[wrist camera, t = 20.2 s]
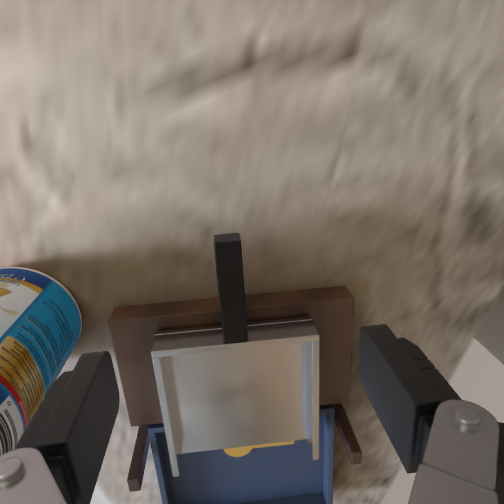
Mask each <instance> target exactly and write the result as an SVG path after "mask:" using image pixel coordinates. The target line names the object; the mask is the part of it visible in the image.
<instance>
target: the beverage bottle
mask: <svg viewBox="0 0 504 504" xmlns="http://www.w3.org/2000/svg"><path fill="white" fill-rule="evenodd" d="M81 329H82V318H81V313H80V309H79V307H78V304H77V302H76V301H75V299H74V297H73V296H72V294H71V293H70V292H69V291H68V290H67V289H66V288H65V287H64V286H63V285H62V284H61V283H60V282H58V281H57V280H55V279H54V278H52V277H50V276H49V275H47V274H44V273H42V272H39V271H36V270H33V269H29V268H22V267H5V268H0V456H1V455H3V454H5V453H7V452H9V451H12V450H14V448H15V447H16V445H17V443H18V441H19V440H20V438H21V436H22V434H23V433H24V431H25V429H26V427H27V426H28V424H29V422H30V420H31V419H32V417H33V415H34V413H35V412H36V411H37V410H38V406H39V405H40V403H41V401H42V400H44V396H45V394H46V392H47V391H48V389H49V387H50V385H51V384H52V383H53V382H54V381H55V380H56V378H57V377H58V375H59V373H60V371H61V369H62V368H63V366H64V364H65V362H66V361H67V359H68V357H69V355H70V354H71V353H72V351H73V349H74V348H75V346H76V344H77V342H78V340H79V337H80V334H81Z"/></svg>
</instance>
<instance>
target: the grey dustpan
mask: <svg viewBox="0 0 504 504" xmlns="http://www.w3.org/2000/svg"><path fill="white" fill-rule="evenodd" d="M214 250H215V260H216V270H217V280H218V290H219V300H220V310H221V320H222V325H216V326H206V327H196V328H185V329H175V330H165V331H156V334H155V338H154V342H153V346H152V350H151V356H152V361H153V367H154V372H155V378H156V384H157V389H158V395H159V401H160V406H161V412H162V417H163V423H164V429H165V434H166V440H167V446H168V451H169V457H170V463H171V468H172V474H173V477H175V476H179V475H180V466H181V455H182V454H184V453H192V452H201V451H210V450H218V449H227V448H235V447H244V446H253V445H261V444H270V443H278V442H287V441H296V440H304V439H307V441H308V444H309V448H310V452H311V455H312V459H313V460H318V459H319V333H318V331H317V329H316V327H315V324H314V322H313V320H312V318H311V316H309V317H298V318H288V319H278V320H267V321H257V322H247V317H246V303H245V289H244V276H243V262H242V248H241V239H240V234H239V233H232V234H220V235H214Z"/></svg>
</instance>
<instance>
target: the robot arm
mask: <svg viewBox="0 0 504 504" xmlns="http://www.w3.org/2000/svg"><path fill="white" fill-rule="evenodd" d="M358 369H359V376H360V380H361V383H362V386H363V388H364V390H365V392H366V394H367V396H368V398H369V400H370V402H371V404H372V406H373V407H374V409H375V411H376V413H377V415H378V417H379V419H380V421H381V423H382V425H383V427H384V429H385V431H386V433H387V435H388V437H389V439H390V441H391V442H392V444H393V446H394V448H395V450H396V452H397V454H398V456H399V458H400V460H401V462H402V464H403V466H404V468H405V470H406V472H407V473H415V472H417V473H416V476H415V480H414V484H413V487H412V491H411V494H410V498H409V502H408V504H504V423H500V422H497V420H496V419H495V417H494V416H493V415H492V414H491V413H489V412H488V411H487V410H486V409H484V408H482V407H481V406H479V405H477V404H475V403H472V402H468V401H465V400H462V399H461V398H460V397H459V396H458V395H457V393H456V392H455V391H454V390H453V388H452V387H451V386H450V385H449V384H448V382H447V381H446V380H445V379H444V378H443V376H442V375H441V374H440V373H439V371H438V370H437V369H435V367H434V365H433V364H432V363H431V362H430V360H428V359H427V357H426V356H425V354H424V353H423V352H422V351H421V349H420V348H419V347H418V346H416V345H415V344H413V343H411V342H410V341H408V340H407V339H405V338H399V339H397V338H396V337H395V335H394V334H393V333H392V331H391V330H390V329H389V327H388V326H387V325H386V324H381V325H371V326H362V327H361V330H360V342H359V363H358ZM118 409H119V390H118V385H117V381H116V376H115V372H114V368H113V363H112V359H111V355H110V353H109V352H108V351H103V352H93V353H83V354H82V355H81V356H80V358H79V360H78V362H77V364H76V366H75V368H74V370H73V371H68V372H64V373H63V374H62V375H61V376H60V377H59V378H57V379H56V380H55V381H54V382H53V383H52V384H51V385H50V387H49V389H48V391H47V392H46V394H45V396H44V400H42V401H41V403H40V405H39V406H38V410H37V411H36V412H35V413H34V415H33V417H32V419H31V420H30V422H29V424H28V426H27V427H26V429H25V431H24V433H23V434H22V436H21V438H20V440H19V441H18V443H17V445H16V447H15V448H14V450H12V451H9V452H7V453H5V454H3V455H1V456H0V504H90V501H91V498H92V494H93V491H94V488H95V485H96V482H97V478H98V475H99V472H100V469H101V465H102V462H103V459H104V456H105V452H106V449H107V446H108V443H109V439H110V436H111V433H112V430H113V427H114V423H115V420H116V417H117V414H118Z"/></svg>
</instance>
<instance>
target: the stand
mask: <svg viewBox="0 0 504 504" xmlns="http://www.w3.org/2000/svg"><path fill="white" fill-rule="evenodd" d="M245 303H246V317H247V322H257V321H267V320H278V319H288V318H298V317H309V316H311V318H312V320H313V322H314V324H315V327H316V329H317V331H318V333H319V406H320V405H329V404H338V403H347V402H350V380H351V355H352V330H353V304H354V298H353V296H352V295H351V293H350V292H349V290H348V289H347V288H346V286H340V287H330V288H319V289H308V290H297V291H287V292H276V293H265V294H254V295H245ZM108 324H109V328H110V333H111V337H112V342H113V347H114V351H115V356H116V360H117V365H118V369H119V374H120V378H121V383H122V388H123V392H124V397H125V401H126V406H127V410H128V415H129V419H130V424H131V426H139V430H138V434H137V439H136V443H135V448H134V452H133V456H132V461H131V465H130V469H129V474H128V478H127V482H128V486H129V490H130V492H131V491H139V490H141V485H142V480H143V475H144V469H145V464H146V459H147V453H148V448H149V443H150V438H149V433H148V426H149V424H158V423H163V417H162V412H161V406H160V401H159V395H158V389H157V384H156V378H155V372H154V367H153V361H152V356H151V350H152V346H153V342H154V338H155V334H156V331H165V330H175V329H185V328H196V327H206V326H216V325H222V320H221V310H220V300H219V298H211V299H201V300H190V301H179V302H168V303H158V304H147V305H136V306H125V307H115V308H114V310H113V312H112V314H111V316H110V318H109V320H108ZM334 408H335V415H334V419H335V422H336V425H337V427H338V430H339V433H340V435H341V438H342V441H343V443H344V446H345V449H346V451H347V454H348V457H349V459H350V462H351V464H360V463H361V458H362V451H361V449H360V446H359V444H358V442H357V439H356V437H355V434H354V432H353V430H352V427H351V425H350V422H349V420H348V418H347V415H346V413H345V410H344V408H343V406H342V404H338V405H334ZM140 425H147V426H140Z"/></svg>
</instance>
